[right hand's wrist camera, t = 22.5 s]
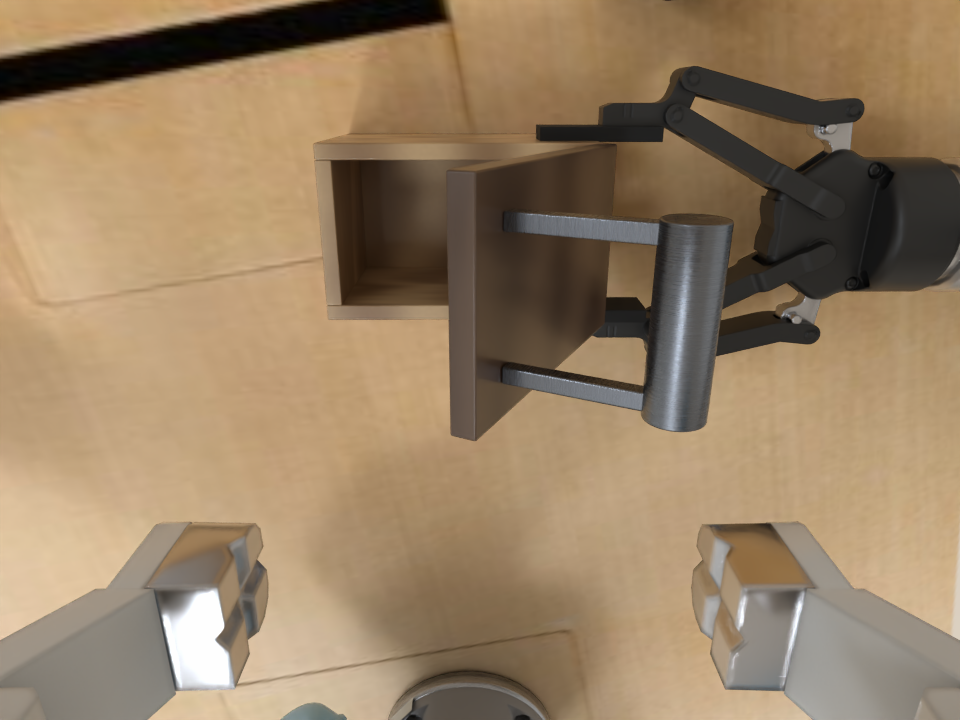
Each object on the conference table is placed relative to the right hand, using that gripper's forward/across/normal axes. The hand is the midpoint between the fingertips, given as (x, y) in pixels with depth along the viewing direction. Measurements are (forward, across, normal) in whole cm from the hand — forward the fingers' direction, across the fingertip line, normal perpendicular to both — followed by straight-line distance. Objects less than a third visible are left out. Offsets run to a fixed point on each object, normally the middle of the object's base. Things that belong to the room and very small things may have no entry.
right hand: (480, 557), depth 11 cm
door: (+20, +2, 0) cm, 20 cm away
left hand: (+30, +3, 0) cm, 30 cm away
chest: (+37, -1, 0) cm, 37 cm away
